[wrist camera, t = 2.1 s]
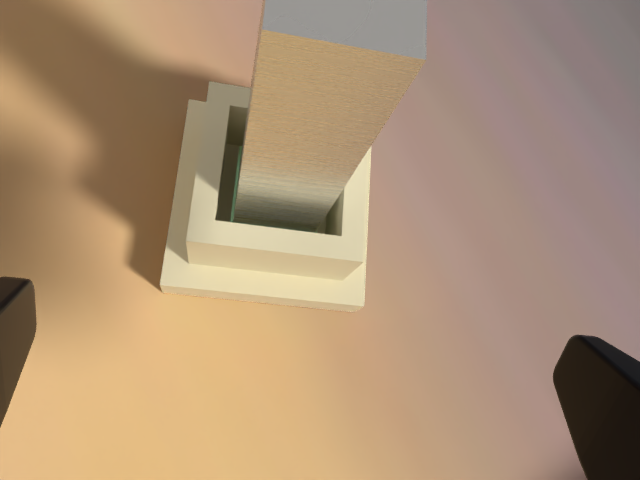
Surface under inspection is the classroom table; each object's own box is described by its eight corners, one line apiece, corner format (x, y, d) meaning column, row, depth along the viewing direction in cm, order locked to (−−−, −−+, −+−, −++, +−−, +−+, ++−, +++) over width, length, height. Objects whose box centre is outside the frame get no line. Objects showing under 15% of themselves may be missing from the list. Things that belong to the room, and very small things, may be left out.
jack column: (311, 244, 21) (431, 65, 10) (228, 234, 21) (255, 32, 9) (317, 168, 22) (432, -73, 11) (238, 157, 22) (272, -110, 10)
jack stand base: (354, 312, 22) (388, 291, 18) (162, 292, 21) (152, 265, 17) (362, 144, 25) (395, 90, 20) (189, 117, 23) (186, 54, 19)
